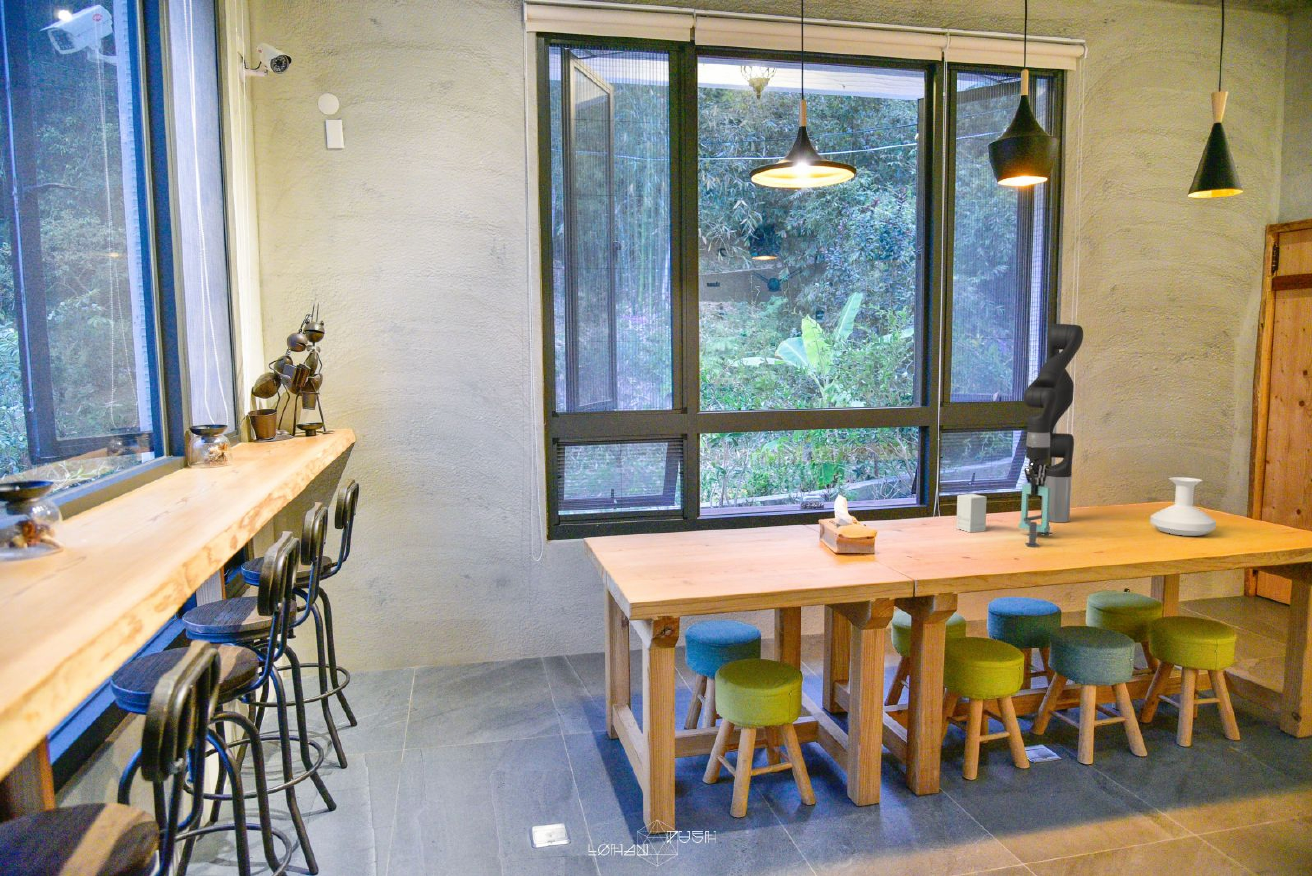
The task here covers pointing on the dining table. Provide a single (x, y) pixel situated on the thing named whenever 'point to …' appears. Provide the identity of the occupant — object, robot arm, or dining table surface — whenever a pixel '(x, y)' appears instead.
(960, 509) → the supplement box
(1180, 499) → the candle holder
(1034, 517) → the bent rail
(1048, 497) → the teal frame
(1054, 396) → the robot arm
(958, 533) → the dining table surface
